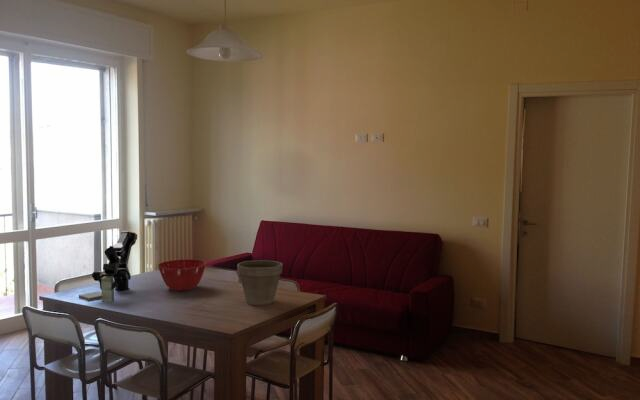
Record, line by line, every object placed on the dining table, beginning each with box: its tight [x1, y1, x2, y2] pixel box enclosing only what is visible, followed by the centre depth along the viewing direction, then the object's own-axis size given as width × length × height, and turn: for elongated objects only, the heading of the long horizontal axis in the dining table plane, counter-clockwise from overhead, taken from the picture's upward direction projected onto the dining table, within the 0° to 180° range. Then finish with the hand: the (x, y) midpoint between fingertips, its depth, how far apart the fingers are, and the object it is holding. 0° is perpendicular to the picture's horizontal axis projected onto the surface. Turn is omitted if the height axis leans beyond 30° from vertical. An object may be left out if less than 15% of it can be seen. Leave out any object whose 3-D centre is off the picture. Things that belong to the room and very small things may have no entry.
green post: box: [101, 276, 115, 302], centre depth 307 cm, size 5×5×13 cm
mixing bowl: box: [157, 258, 207, 292], centre depth 335 cm, size 28×28×15 cm
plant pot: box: [236, 259, 284, 306], centre depth 304 cm, size 25×25×22 cm
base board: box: [78, 291, 102, 302], centre depth 313 cm, size 11×11×2 cm
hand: (106, 289), depth 305 cm, fingers open, 6 cm apart
